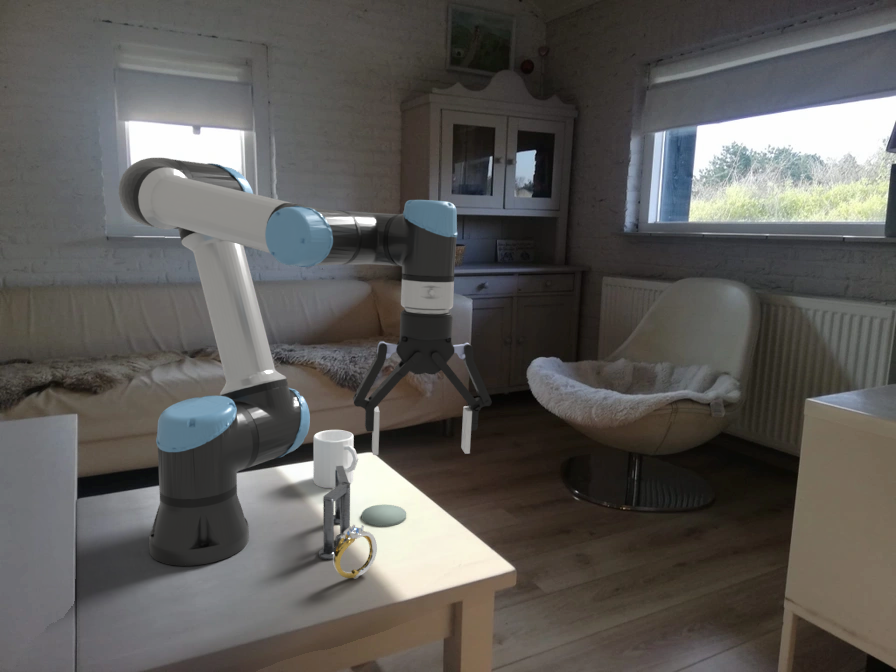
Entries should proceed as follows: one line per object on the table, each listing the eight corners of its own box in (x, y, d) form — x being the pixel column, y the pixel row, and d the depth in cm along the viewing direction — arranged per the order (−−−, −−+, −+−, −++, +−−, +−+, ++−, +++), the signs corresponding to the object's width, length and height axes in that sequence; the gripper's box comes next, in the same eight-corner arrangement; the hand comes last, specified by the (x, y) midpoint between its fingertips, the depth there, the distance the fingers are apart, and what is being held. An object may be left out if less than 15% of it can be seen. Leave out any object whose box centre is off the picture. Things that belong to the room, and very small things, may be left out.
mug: (340, 497, 126) (340, 448, 125) (306, 480, 135) (305, 434, 133) (372, 487, 132) (373, 440, 131) (338, 471, 140) (338, 427, 139)
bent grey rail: (290, 552, 104) (290, 492, 103) (336, 515, 118) (336, 463, 117) (332, 561, 102) (332, 500, 100) (373, 522, 116) (374, 469, 114)
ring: (338, 588, 94) (338, 536, 93) (328, 578, 96) (329, 527, 95) (380, 575, 98) (381, 525, 97) (370, 566, 100) (371, 517, 99)
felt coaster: (354, 521, 116) (354, 518, 116) (373, 504, 123) (373, 501, 123) (395, 529, 113) (395, 526, 113) (412, 511, 121) (412, 508, 121)
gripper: (339, 311, 88) (336, 461, 91) (517, 315, 92) (508, 458, 96) (338, 304, 95) (335, 444, 98) (503, 308, 99) (495, 442, 103)
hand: (420, 451), depth 97 cm, fingers open, 13 cm apart
